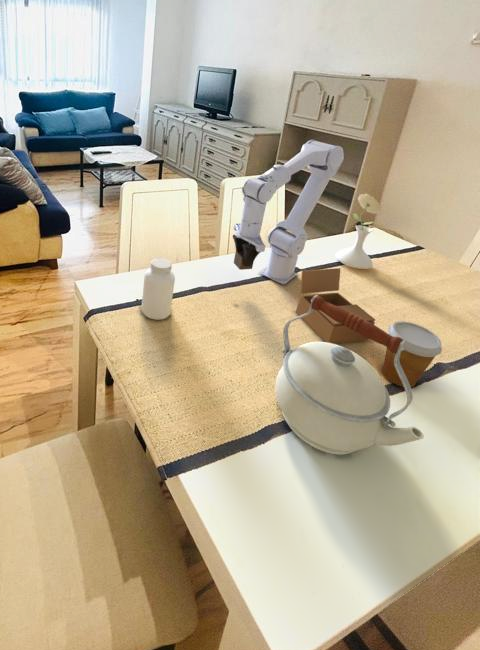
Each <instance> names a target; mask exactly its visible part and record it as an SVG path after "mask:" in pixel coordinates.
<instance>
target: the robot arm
mask: <svg viewBox="0 0 480 650" xmlns="http://www.w3.org/2000/svg"><path fill="white" fill-rule="evenodd" d="M344 159H345V155H344V148H343V147H342V146H340V145H335V144H334V145H333V144H329V143H326V142H321V141H318V140H316V139H310V140H308V141H307V142H306V143H303V144H302V147H301V149H300V152H298V153H297V154H296V155H294V156H293V157H292V158H291V159H289V160H288V161H287V162H285V163H284V164H274V165H273V166H272V167H271V168H270V169H268V170H267V171H265V172H263V173H262V174H260V175H259V176H258V177H251V178H248V179H247V180H246V181H245V182H244V184H243V186H242V188H241V192H242V195H243V198H242V201H243V202H244V204H243V208H242V214H241V219H240V223H234V225H233V231H236V232H234V233H235V234H232V239H233V242H234V246H235V252H236V251H244V266H245V267H246V266H251V265H252V263H253V264H254V262H255V260H256V258H257V257H258V255H259V254H260V253H263V252H265V250H266V244H265V243H264V242H263V239H262V236H261V232H262V226H263V220H264V217H265V211H266V207H267V202H270V201H271V200H272V198H273V196H274V195H275V194H276V192H277V191H278V189H280V188H282V187H283V186H285V185H286V184H288V183H289V182H290V181H291V180H292V179H291V178H292V175H294V174H296V173H298V172H299V171H301V170H303V169H305V168H307V169H308V170H309V171H310V176H309V178H308V179H307V181H306V183H305V185H304V187H303V189H302V190H301V193H300V194H299V196H298V198H297V199H296V201H295V202H294V205H293V206H292V209H291V211H290V212H289V214H288V216H287V218H286V219H285V220H284V219H283V220H281V221H277V222H276V224H275V225H274V227H273V228H272V229H271V230H270V231H269V232H268V234H267V243H268V244H269V248H270V253H269V258H268V261H267V266H266V269H264V270H263V271H261V272H260V275H261V276H264V277H266V278H268V279H270V280H273V281H275V282H276V283H279V284H281V285H286V284H287V283H289V281H291V280H292V279H293V278H295V277H296V276H297V273H296V272H295V270H296V266H297V263H298V258H299V255H301V254H302V252H303V250H305V246H306V242H307V239H308V238H309V237H308V234H307V232H306V230H305V225H306V223H307V221H308V219H309V218H310V216H311V214H312V212H313V211H314V208H316V205H317V203H318V202H319V200H320V198H321V196H322V194H323V192H324V191H325V189H326V187H327V186H328V184H329V182H330V180H331V178H332V177H335V175H336V174H337V172H338V171H339V168H340V167H341V165H342V163H343V162H344Z"/></svg>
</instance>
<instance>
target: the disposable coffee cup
mask: <svg viewBox="0 0 480 650" xmlns="http://www.w3.org/2000/svg"><path fill="white" fill-rule="evenodd" d="M387 333H388V334H389V335H391V336H393V337H400V338H401V339H402V340H405V344H404V348H405V349H404V350H403V351H401V354H400V357H399V361H400V364H401V367H402V369H403V371H404V373H405V375H406V377H407V380H408V382H409V384H410V387H411V388H414V387H415V385H416V384H417V382H418V381H419V380H420V378H421V377H422V376H423V374H424V373H425V371H426V370H427V369H428V367H430V364H432V362H433V360H434V359H435V358H436V357H437V356H438V355H440V354H441V353H442V351H443V348H442V341H441V339H440V338H439V336H438V335H436V334H435V333H434V332H433V331H431V330H429V329H428V328H426V327H424V326H422V325H419V324H417V323H414V322H411V321H402V320H399V321H395V322H394V323H392V325H390V326H389V327H388V329H387ZM395 355H396V353H392V352H390V351H389V349H388V348H387V347H385V354H384V358H383V364H382V366H381V367H382V368H381V373H382V375H383V376H384V378H386V379H387V380H388V381H389V382H391V383H393V384H394V385H396V386H399V387H402V388H404V386H403V383H402V381H401V379H400V377H399V375H398V373H397V370H396V368H395V365H394V358H395Z"/></svg>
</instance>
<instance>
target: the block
mask: <svg viewBox="0 0 480 650" xmlns="http://www.w3.org/2000/svg"><path fill="white" fill-rule="evenodd" d="M233 264H234V265H235V266H236V268H237V269H238V270H241V271H242V270H243V271H244V270H253V266H254V262H253V263H252V265H251V266H246V267H245V266H244V251H236V250H235V253H234V259H233Z"/></svg>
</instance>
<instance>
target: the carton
mask: <svg viewBox="0 0 480 650" xmlns="http://www.w3.org/2000/svg"><path fill="white" fill-rule="evenodd" d="M316 295H318V296H320V297H322V298H323V299H324V301H325V302H328V303H330V304H333V305H335V306H338V307H340V308H343V309H345V310H346V311H348V312H349V313H352V314H354V315H355V316H358V317H359V318H362V319H363V320H364V321H367V322H370V323H372V324H373V325H375V324H376V322H375V321H376V318H374V317H373V316H372V315H370V314H369V312H367V311H365V310H364V309H363V308H361V306H359V305H358V304H353V303H351V302H350V301H349V300H348V299H347V298H345V297H344V296H343V295H342V294H341V293H339V292H329V293H327V292H325V293H314V294H302V295H299V299H298V303H297V306H296V310H295V313H296V314H297V315H298V316H300V315H303V314H306V313H308V311H309V309H310V306H311V300H312V299H313V297H314V296H316ZM301 319H302V320H303V321H304V323H306V324H307V325H308V326H309V327H310V328H311V329H312V330H313V331H314V332H315V333H316V334H317V335H318V336H319V337H320V338H321V339H322V341H323V342H327V343H332V344H336V345H338V344H345V343H354V342H363V341H369V340H370V339H368V338H366V337H364V336H362V335H361V334H359V333H358V332H355V331H353V330H351V329H349V327H346V326H345V325H343V324H340V323H338V322H337V321H335V320H333V319H332V318H330V317H329V316H328V315H326V314H325V313H323V312H322V311H320V310H313V311H312V312H311V313H310V314H309V315H307V316H305V317H302V318H301Z"/></svg>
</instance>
